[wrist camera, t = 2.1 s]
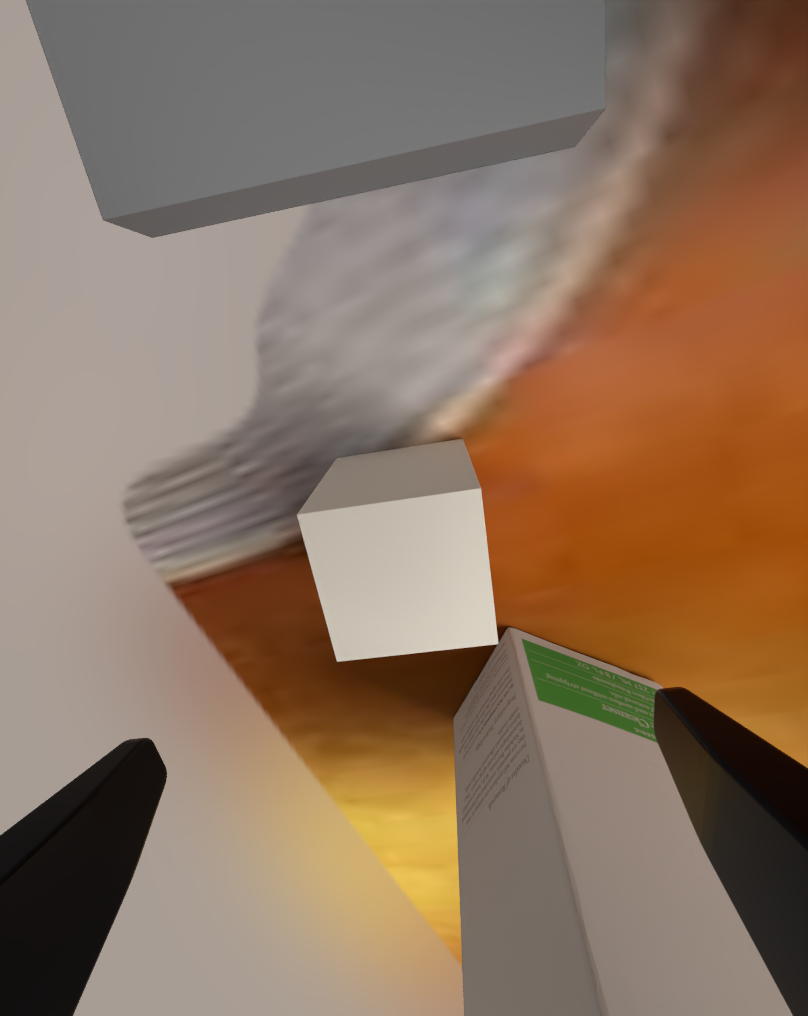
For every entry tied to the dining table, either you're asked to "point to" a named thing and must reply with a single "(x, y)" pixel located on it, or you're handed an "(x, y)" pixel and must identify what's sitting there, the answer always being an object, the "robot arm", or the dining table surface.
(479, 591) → the block
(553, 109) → the base board
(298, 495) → the dining table surface
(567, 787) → the skincare box
